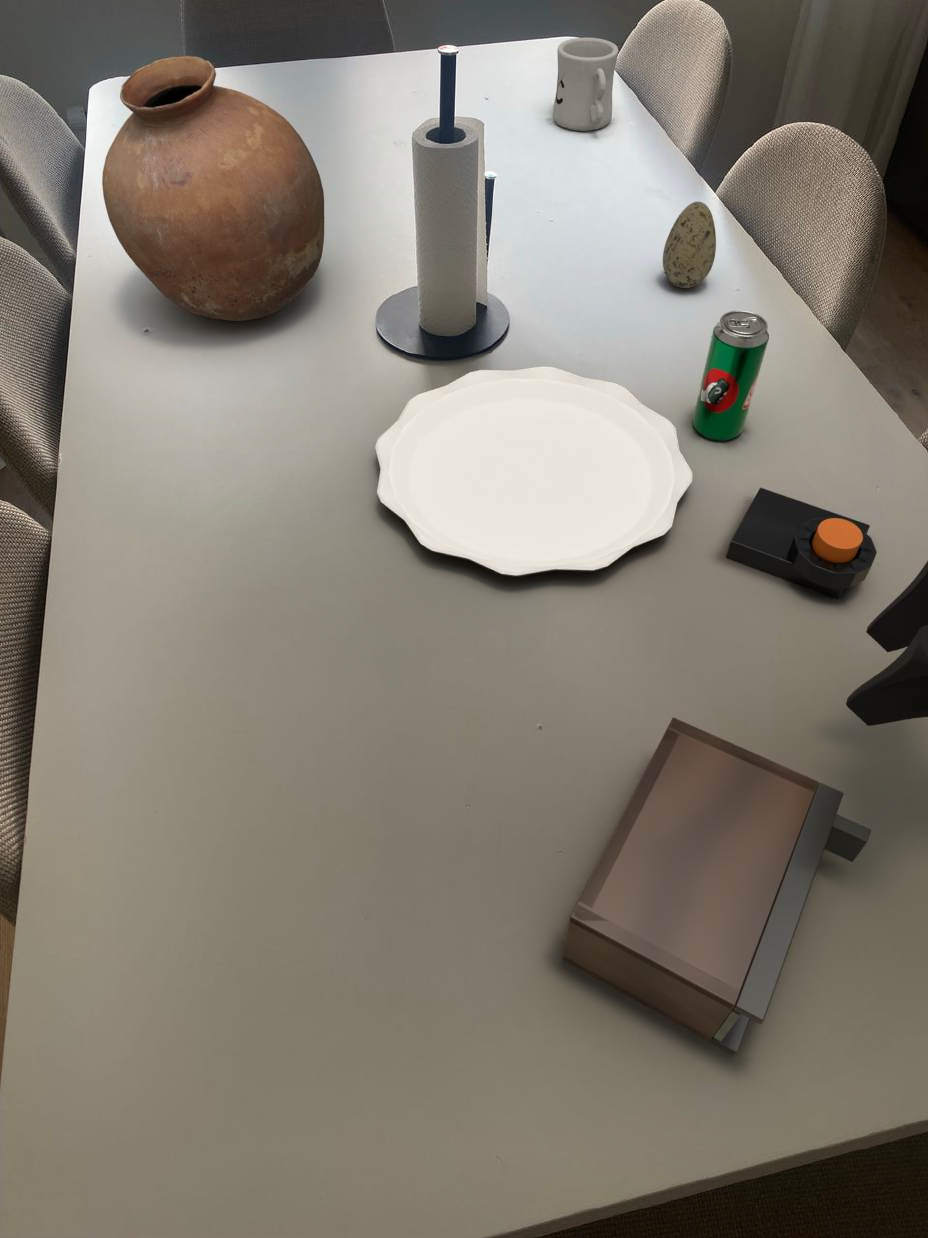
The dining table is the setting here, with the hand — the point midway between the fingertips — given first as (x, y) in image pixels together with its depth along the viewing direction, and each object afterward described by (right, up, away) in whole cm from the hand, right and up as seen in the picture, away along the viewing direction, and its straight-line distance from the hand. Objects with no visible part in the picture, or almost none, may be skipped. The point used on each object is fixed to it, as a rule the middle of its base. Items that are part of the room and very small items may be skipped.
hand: (868, 674), depth 58 cm
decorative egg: (+1, +44, +52) cm, 68 cm away
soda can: (0, +23, +35) cm, 41 cm away
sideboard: (-11, -15, +3) cm, 19 cm away
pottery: (-53, +42, +51) cm, 84 cm away
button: (+5, +10, +18) cm, 21 cm away
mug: (-7, +79, +82) cm, 114 cm away
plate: (-19, +17, +30) cm, 40 cm away
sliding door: (-3, -14, +2) cm, 15 cm away
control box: (+4, +10, +23) cm, 25 cm away
